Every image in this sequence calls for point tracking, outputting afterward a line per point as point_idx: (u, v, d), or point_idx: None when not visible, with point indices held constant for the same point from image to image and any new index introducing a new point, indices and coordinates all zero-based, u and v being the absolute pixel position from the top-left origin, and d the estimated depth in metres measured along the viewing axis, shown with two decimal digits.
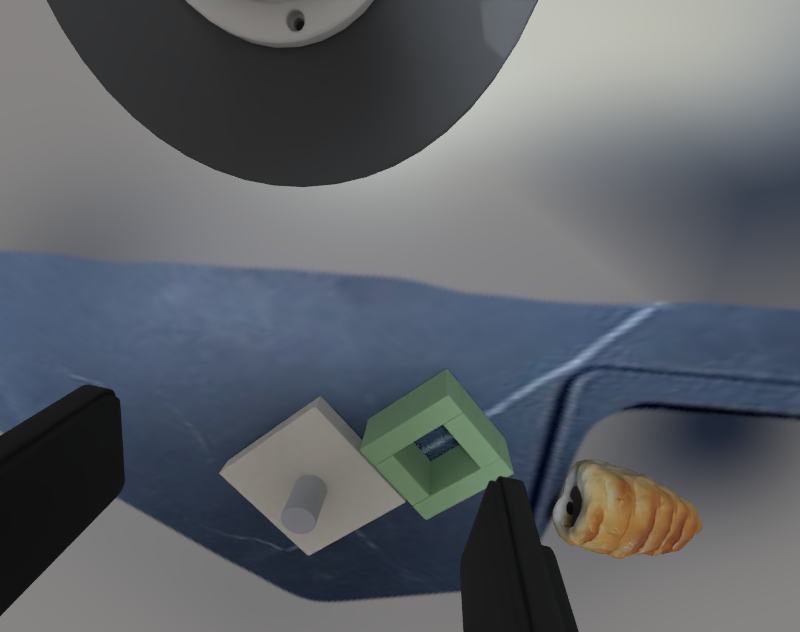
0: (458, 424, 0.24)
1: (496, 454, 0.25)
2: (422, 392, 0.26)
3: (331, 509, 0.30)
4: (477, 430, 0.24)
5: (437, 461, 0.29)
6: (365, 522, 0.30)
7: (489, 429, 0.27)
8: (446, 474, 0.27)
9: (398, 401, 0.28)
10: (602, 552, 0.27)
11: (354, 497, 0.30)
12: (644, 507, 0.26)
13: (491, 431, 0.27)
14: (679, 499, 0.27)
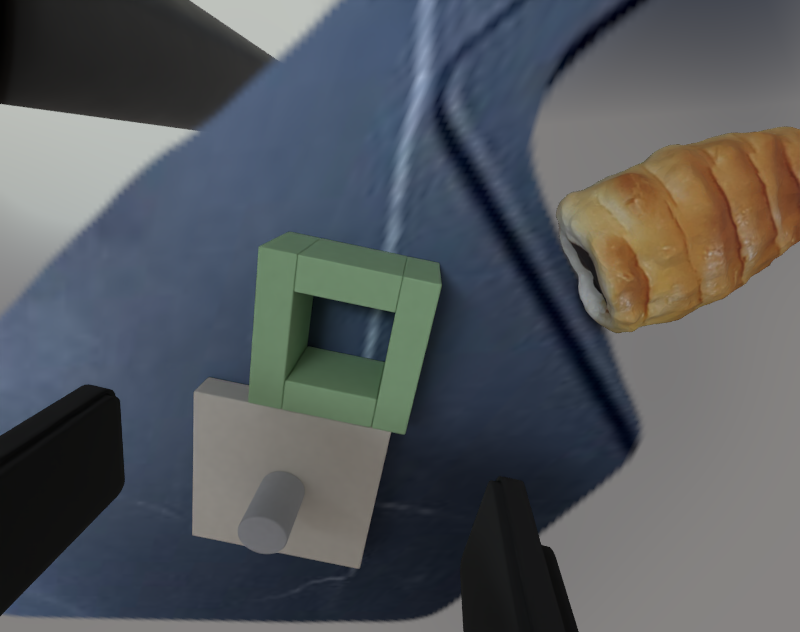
0: (308, 274, 0.15)
1: (393, 276, 0.15)
2: None
3: (326, 498, 0.22)
4: (338, 263, 0.15)
5: None
6: (374, 488, 0.21)
7: (386, 259, 0.17)
8: None
9: None
10: (689, 305, 0.15)
11: (334, 467, 0.21)
12: (682, 181, 0.13)
13: (392, 260, 0.17)
14: (748, 133, 0.14)
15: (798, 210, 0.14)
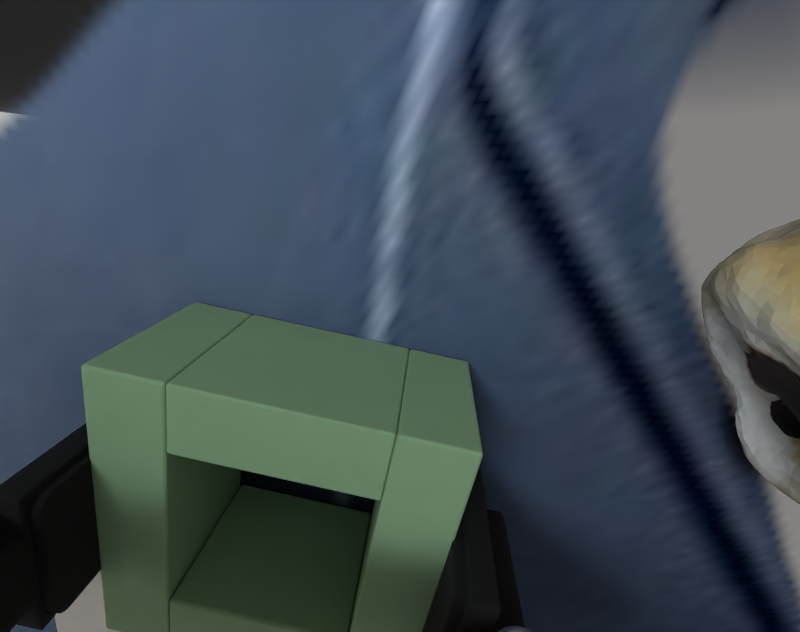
0: (190, 424, 0.07)
1: (375, 434, 0.07)
2: None
3: None
4: (255, 403, 0.07)
5: (373, 509, 0.11)
6: None
7: (367, 369, 0.09)
8: (367, 547, 0.09)
9: None
10: None
11: None
12: None
13: (379, 370, 0.09)
14: None
15: None
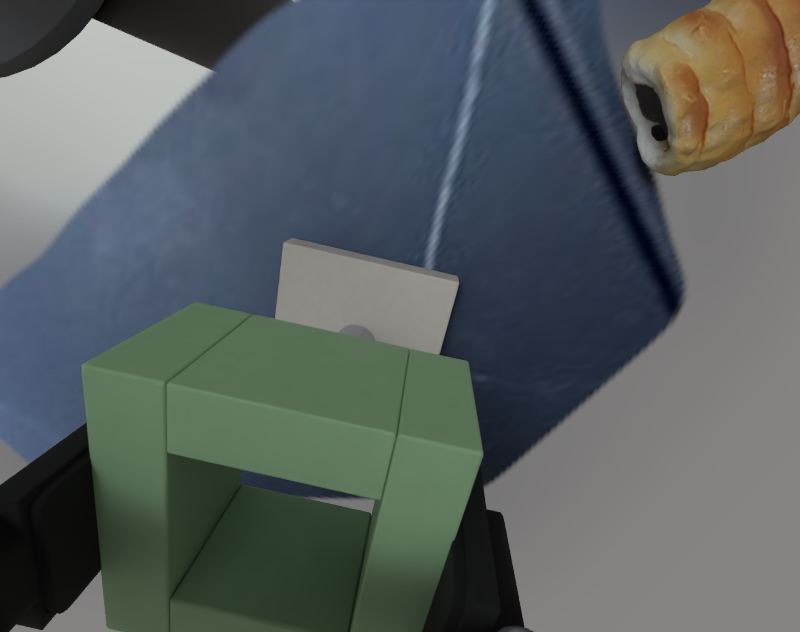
0: (191, 423, 0.07)
1: (375, 433, 0.07)
2: None
3: None
4: (255, 403, 0.07)
5: (373, 509, 0.11)
6: (439, 342, 0.23)
7: (368, 369, 0.09)
8: (367, 547, 0.09)
9: None
10: (741, 134, 0.17)
11: (404, 319, 0.23)
12: (743, 8, 0.16)
13: (379, 370, 0.09)
14: None
15: None
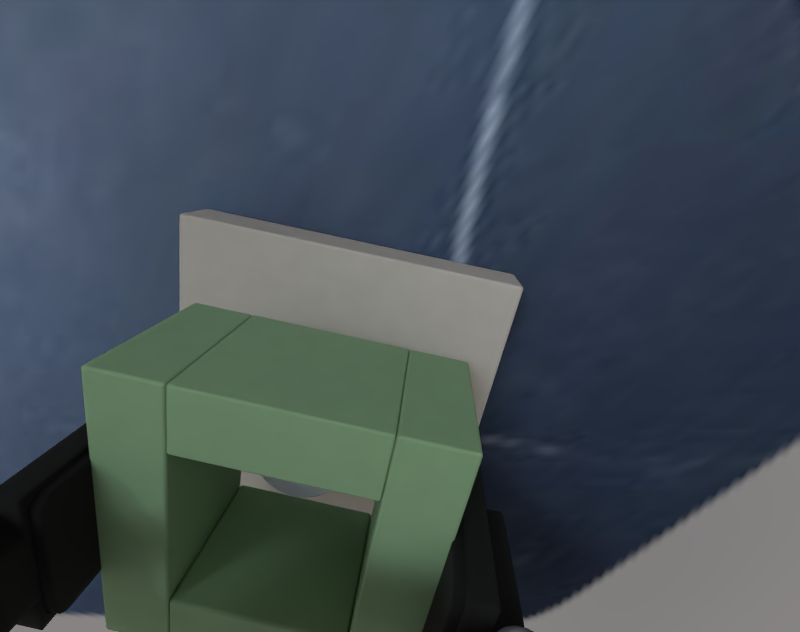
0: (191, 424, 0.07)
1: (375, 434, 0.07)
2: None
3: None
4: (255, 403, 0.07)
5: (373, 510, 0.11)
6: (482, 398, 0.13)
7: (367, 370, 0.09)
8: (367, 547, 0.09)
9: None
10: None
11: None
12: None
13: (379, 371, 0.09)
14: None
15: None
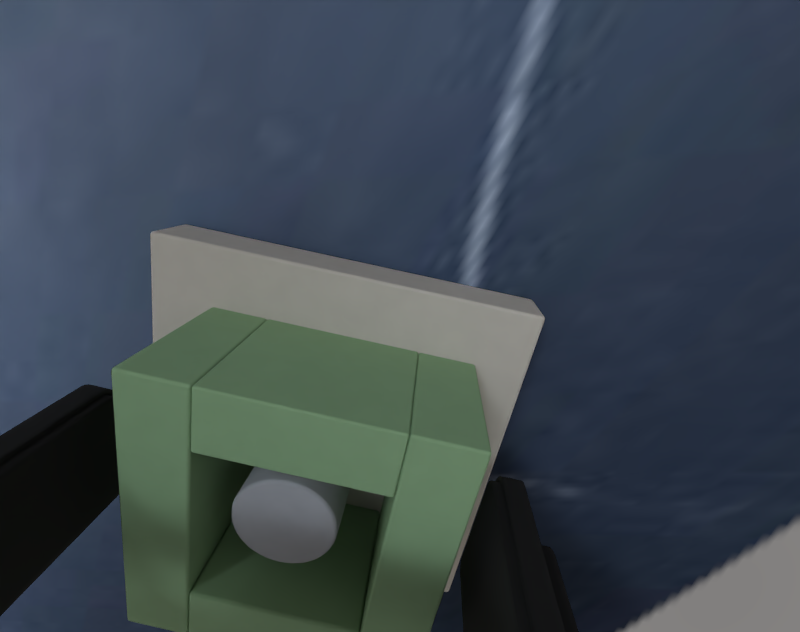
0: (215, 424, 0.07)
1: (389, 434, 0.07)
2: None
3: None
4: (275, 404, 0.07)
5: (382, 507, 0.12)
6: (495, 440, 0.11)
7: (379, 372, 0.09)
8: (378, 543, 0.10)
9: None
10: None
11: None
12: None
13: (390, 373, 0.09)
14: None
15: None
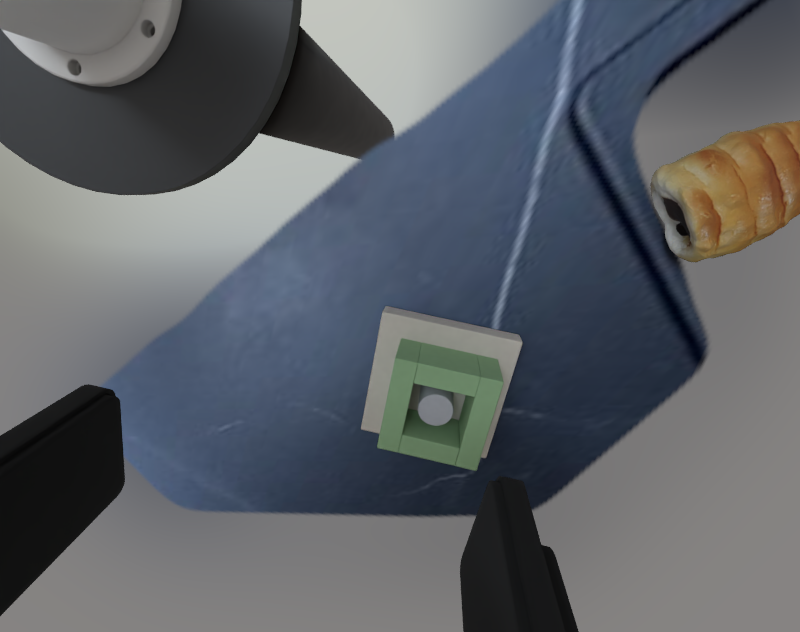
0: (423, 374, 0.26)
1: (474, 376, 0.25)
2: None
3: None
4: (442, 368, 0.25)
5: (460, 416, 0.30)
6: (505, 388, 0.29)
7: (466, 360, 0.27)
8: (464, 421, 0.28)
9: None
10: (747, 236, 0.23)
11: None
12: (743, 152, 0.21)
13: (470, 361, 0.27)
14: (785, 122, 0.22)
15: None
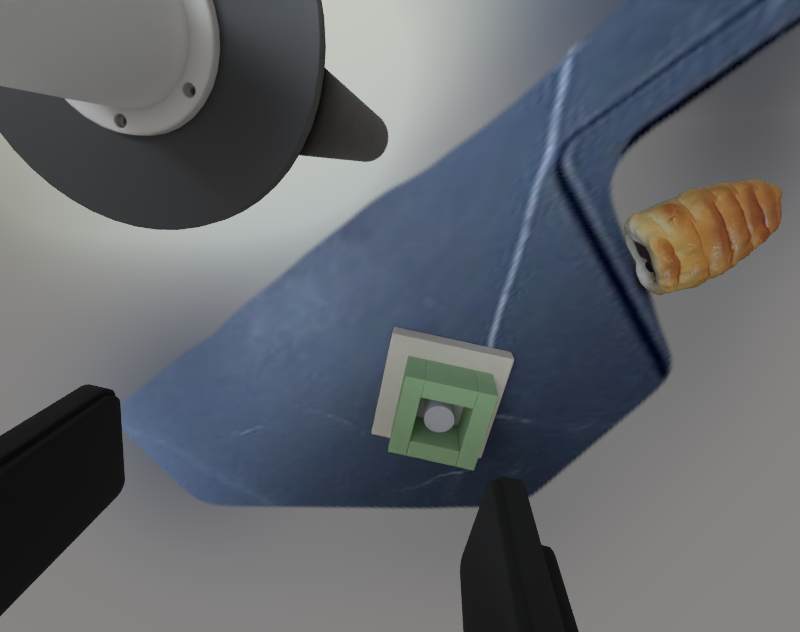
0: (429, 389, 0.30)
1: (473, 392, 0.29)
2: (402, 384, 0.32)
3: None
4: (446, 385, 0.29)
5: (459, 422, 0.34)
6: (499, 398, 0.33)
7: (466, 376, 0.31)
8: (463, 428, 0.32)
9: (398, 400, 0.34)
10: (702, 276, 0.27)
11: None
12: (699, 209, 0.26)
13: (469, 376, 0.31)
14: (735, 182, 0.26)
15: (762, 224, 0.26)
